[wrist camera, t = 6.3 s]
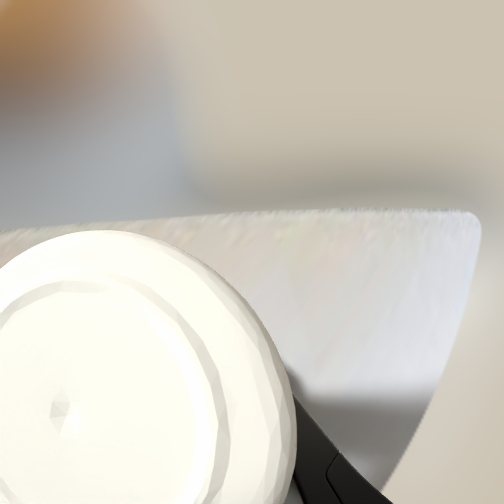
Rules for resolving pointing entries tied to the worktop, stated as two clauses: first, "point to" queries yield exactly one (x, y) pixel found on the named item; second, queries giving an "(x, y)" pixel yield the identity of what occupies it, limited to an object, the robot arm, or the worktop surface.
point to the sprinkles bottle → (136, 380)
